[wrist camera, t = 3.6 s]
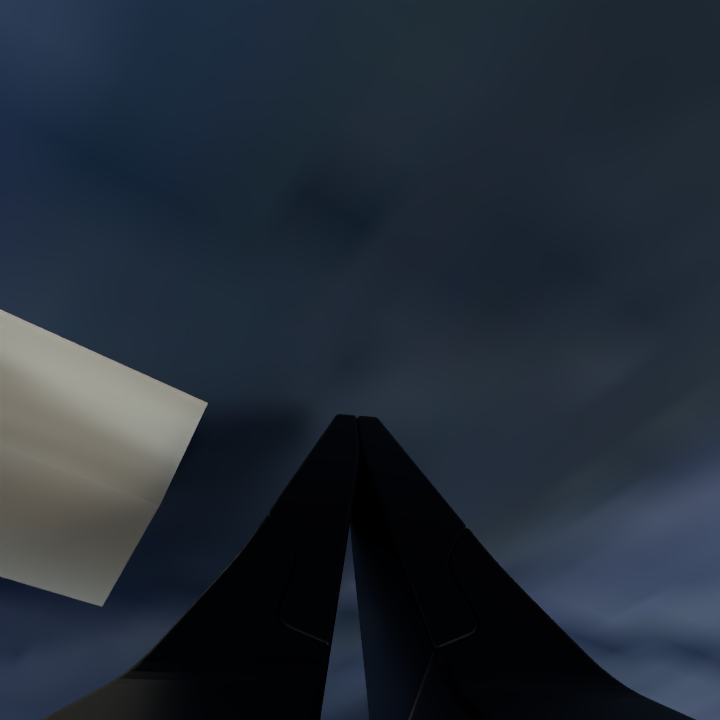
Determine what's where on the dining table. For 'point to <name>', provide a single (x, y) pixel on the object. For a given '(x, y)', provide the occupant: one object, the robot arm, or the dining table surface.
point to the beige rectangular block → (80, 460)
